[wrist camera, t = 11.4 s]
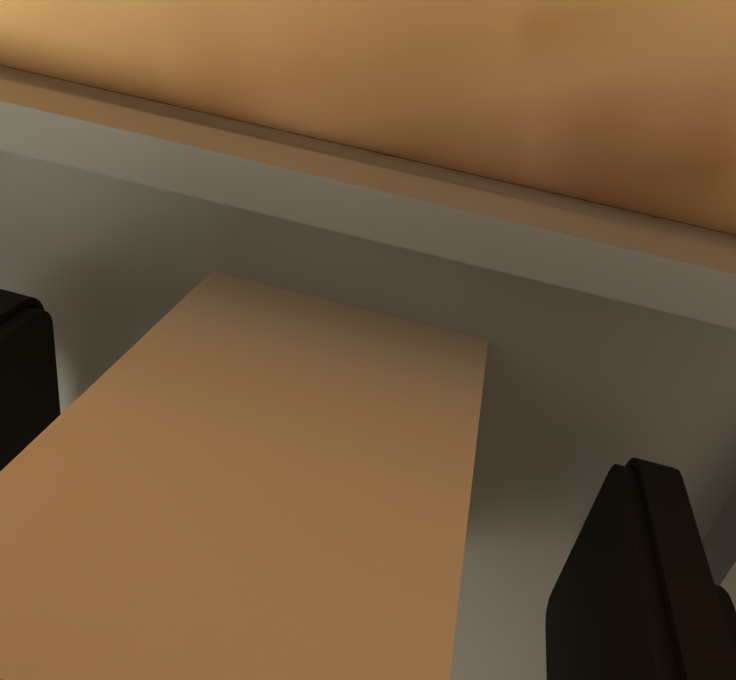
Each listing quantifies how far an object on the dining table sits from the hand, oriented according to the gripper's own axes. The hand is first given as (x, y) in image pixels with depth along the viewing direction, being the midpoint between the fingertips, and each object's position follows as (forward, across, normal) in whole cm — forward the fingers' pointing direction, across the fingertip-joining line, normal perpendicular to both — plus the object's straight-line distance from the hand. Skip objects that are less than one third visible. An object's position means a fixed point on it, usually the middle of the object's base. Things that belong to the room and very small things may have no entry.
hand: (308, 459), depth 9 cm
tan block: (+1, 0, 0) cm, 1 cm away
